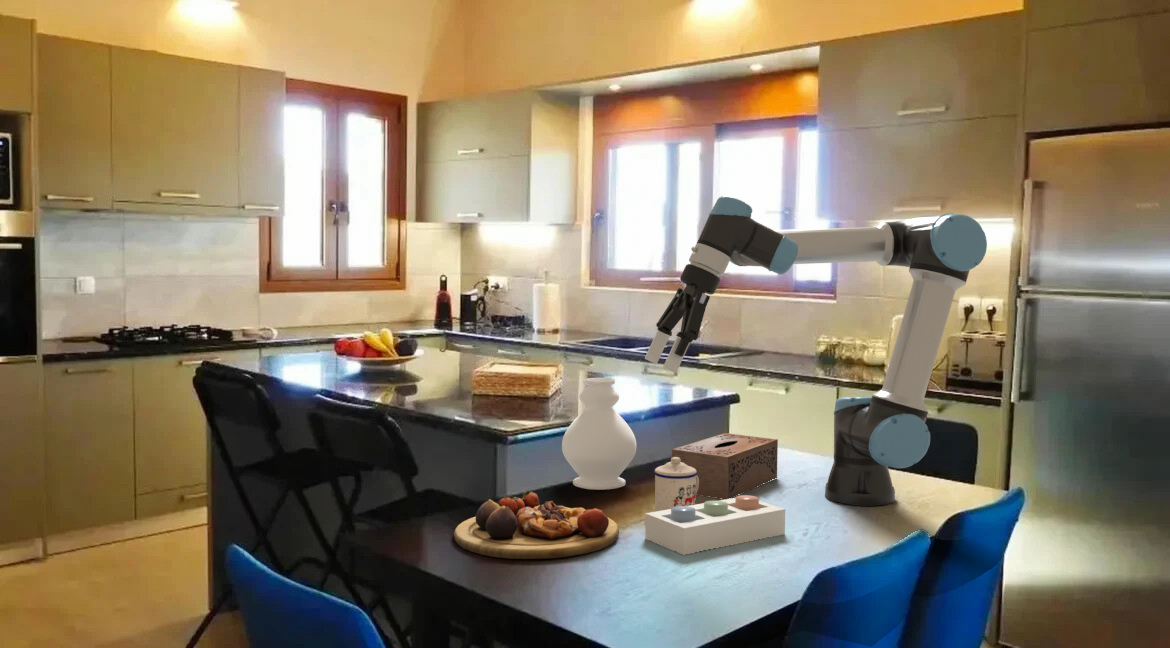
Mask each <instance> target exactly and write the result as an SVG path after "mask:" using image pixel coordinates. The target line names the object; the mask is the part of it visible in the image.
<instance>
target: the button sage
mask: <svg viewBox="0 0 1170 648" xmlns="http://www.w3.org/2000/svg"><path fill="white" fill-rule="evenodd" d="M703 503H704V514H707V515H710V516H713V517H716V516H722V515H727V514H728V503H726V502H723V501H719V500H706V501H704V502H703Z"/></svg>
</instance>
